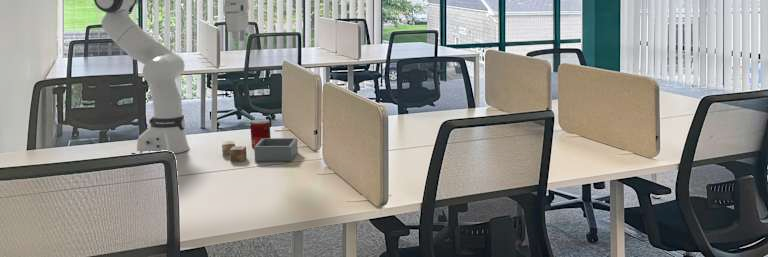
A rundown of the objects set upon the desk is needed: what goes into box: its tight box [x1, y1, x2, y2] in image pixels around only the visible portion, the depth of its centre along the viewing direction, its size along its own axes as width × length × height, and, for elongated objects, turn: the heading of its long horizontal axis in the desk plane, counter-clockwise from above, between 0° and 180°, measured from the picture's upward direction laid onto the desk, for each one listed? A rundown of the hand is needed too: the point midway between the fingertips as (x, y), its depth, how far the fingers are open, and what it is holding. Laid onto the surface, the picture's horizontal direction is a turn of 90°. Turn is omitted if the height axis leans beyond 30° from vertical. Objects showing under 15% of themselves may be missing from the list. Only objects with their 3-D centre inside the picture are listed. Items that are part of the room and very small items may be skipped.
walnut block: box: [229, 145, 248, 163], centre depth 274 cm, size 5×5×5 cm
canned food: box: [250, 118, 271, 149], centre depth 295 cm, size 8×8×11 cm
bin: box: [253, 137, 299, 163], centre depth 278 cm, size 14×14×6 cm
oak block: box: [221, 140, 236, 158], centre depth 284 cm, size 5×5×5 cm
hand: (239, 42), depth 281 cm, fingers open, 8 cm apart
